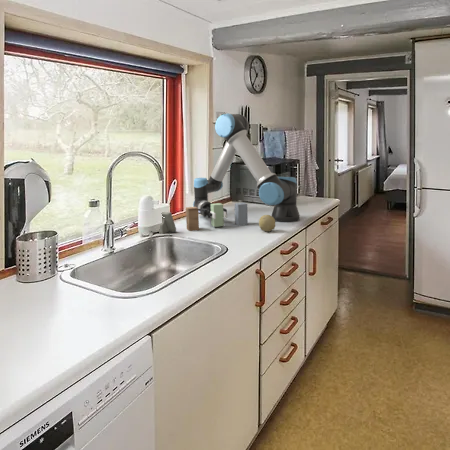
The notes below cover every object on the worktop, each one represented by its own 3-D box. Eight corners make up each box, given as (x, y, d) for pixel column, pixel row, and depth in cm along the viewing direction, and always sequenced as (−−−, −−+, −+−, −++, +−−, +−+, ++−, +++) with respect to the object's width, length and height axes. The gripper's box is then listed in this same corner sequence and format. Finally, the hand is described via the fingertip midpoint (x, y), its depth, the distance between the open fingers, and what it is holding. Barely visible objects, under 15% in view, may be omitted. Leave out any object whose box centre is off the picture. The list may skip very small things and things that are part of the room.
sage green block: (211, 225, 226) (210, 203, 224) (220, 224, 228) (219, 203, 225) (214, 226, 221) (213, 205, 219) (223, 225, 223) (223, 204, 221)
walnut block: (186, 229, 222) (185, 207, 220) (196, 228, 224) (195, 206, 221) (189, 231, 217) (188, 209, 215) (199, 230, 219) (198, 208, 217)
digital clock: (178, 232, 216) (177, 210, 214) (163, 235, 210) (162, 213, 207) (158, 227, 227) (156, 207, 225) (143, 230, 221) (142, 210, 219)
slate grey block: (235, 224, 230) (234, 203, 228) (244, 223, 232) (243, 202, 230) (238, 225, 226) (238, 204, 223) (247, 224, 227) (247, 203, 225)
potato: (258, 229, 216) (258, 213, 214) (274, 229, 215) (274, 213, 214) (259, 233, 208) (259, 216, 207) (275, 233, 208) (275, 216, 206)
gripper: (222, 213, 243) (237, 221, 222) (190, 216, 238) (203, 224, 216) (222, 200, 242) (237, 206, 220) (190, 203, 236) (202, 209, 215)
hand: (220, 215), depth 218 cm, fingers closed on sage green block, 5 cm apart
